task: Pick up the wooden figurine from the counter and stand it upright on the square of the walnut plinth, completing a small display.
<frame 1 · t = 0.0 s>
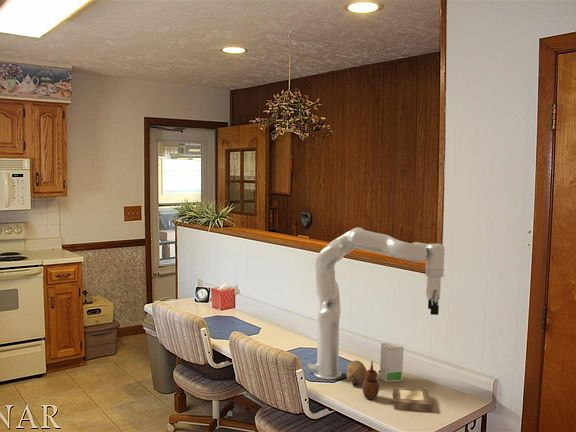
hand: (433, 311, 235), 31 cm above the breakfast bar, tool pointing down, fingers open, 9 cm apart
skincare box: (390, 379, 240), on the breakfast bar
walnut plinth: (411, 402, 215), on the breakfast bar
natural sponge: (356, 384, 234), on the breakfast bar
wooden figurine: (370, 398, 219), on the breakfast bar
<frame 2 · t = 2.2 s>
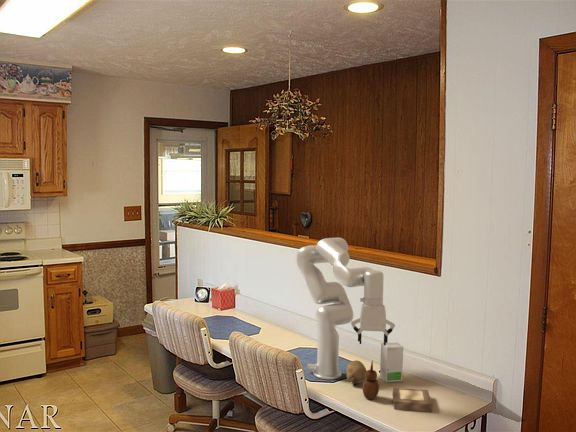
hand: (372, 343, 217), 22 cm above the breakfast bar, tool pointing down, fingers open, 9 cm apart
nothing on the breakfast bar moved.
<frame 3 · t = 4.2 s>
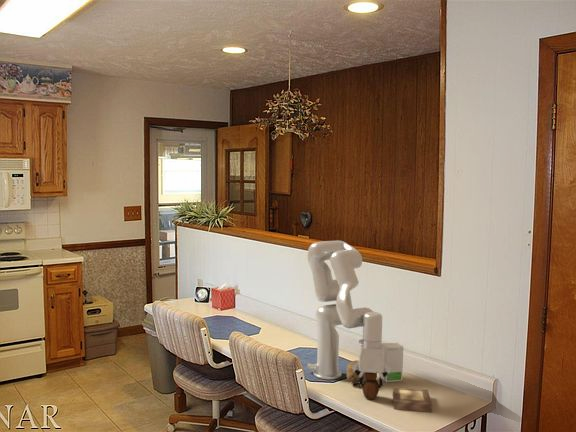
hand: (370, 386, 219), 5 cm above the breakfast bar, tool pointing down, fingers closed on wooden figurine, 6 cm apart
wooden figurine: (370, 398, 219), on the breakfast bar, touching gripper
everything else where it was.
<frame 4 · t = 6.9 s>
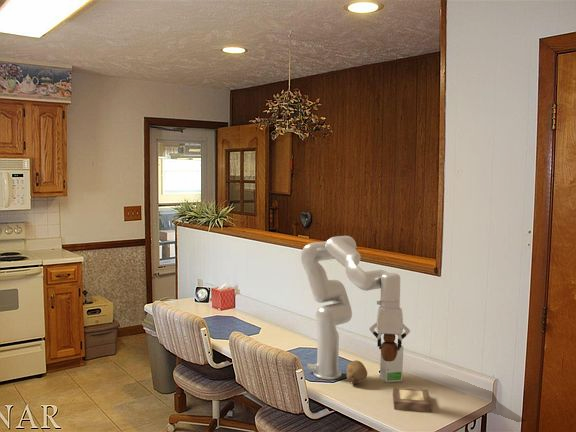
hand: (389, 348, 216), 21 cm above the breakfast bar, tool pointing down, fingers closed on wooden figurine, 6 cm apart
wooden figurine: (388, 360, 216), point 16 cm above the breakfast bar, touching gripper
everything else where it was.
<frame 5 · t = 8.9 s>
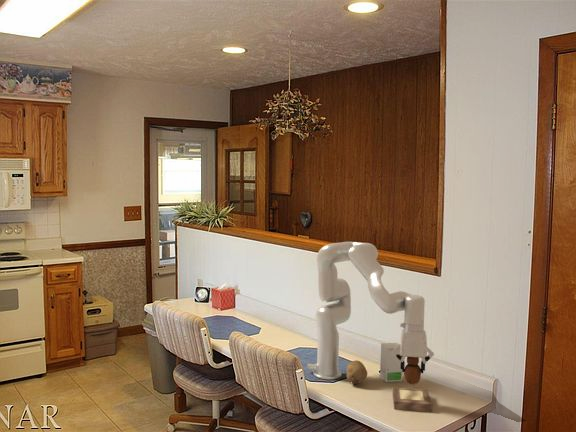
hand: (412, 371, 214), 13 cm above the breakfast bar, tool pointing down, fingers closed on wooden figurine, 6 cm apart
wooden figurine: (412, 383, 214), point 8 cm above the breakfast bar, touching gripper
everything else where it was.
when the fingers open (10 cm above the breakfast bar, at t = 10.0 s): wooden figurine drops 2 cm, resting on walnut plinth.
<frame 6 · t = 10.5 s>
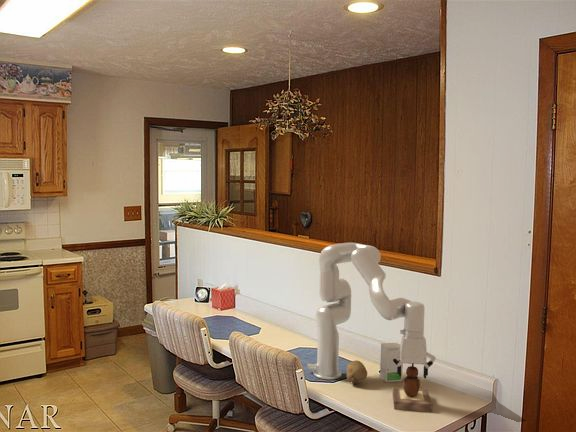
hand: (412, 376, 214), 11 cm above the breakfast bar, tool pointing down, fingers open, 9 cm apart
wooden figurine: (411, 395, 215), point 3 cm above the breakfast bar, touching walnut plinth
everything else where it was.
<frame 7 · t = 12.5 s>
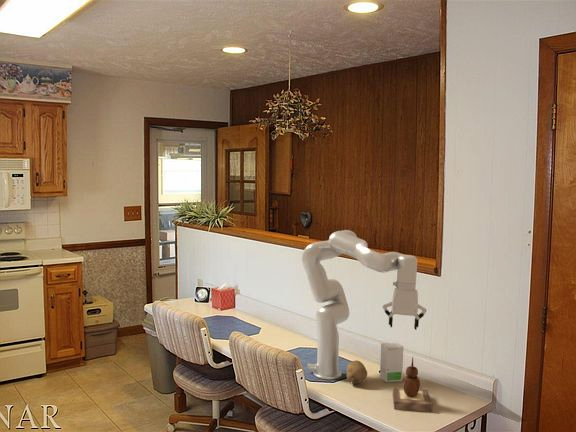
hand: (403, 327, 219), 28 cm above the breakfast bar, tool pointing down, fingers open, 9 cm apart
nothing on the breakfast bar moved.
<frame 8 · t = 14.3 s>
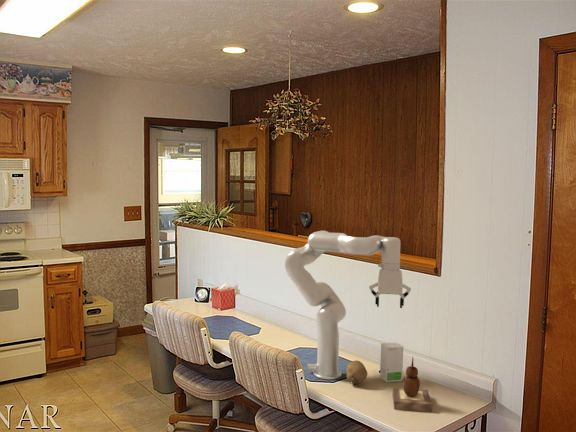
hand: (389, 306, 230), 34 cm above the breakfast bar, tool pointing down, fingers open, 9 cm apart
nothing on the breakfast bar moved.
at the end: wooden figurine inside the target area on the walnut plinth (0.2 cm from its centre), point 3.0 cm above the walnut plinth's base; wooden figurine tilted 0°; the gripper is holding nothing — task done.
